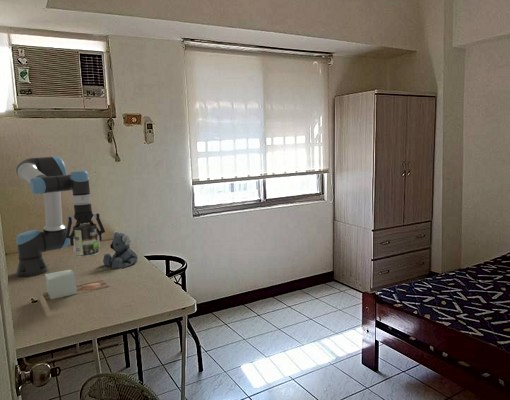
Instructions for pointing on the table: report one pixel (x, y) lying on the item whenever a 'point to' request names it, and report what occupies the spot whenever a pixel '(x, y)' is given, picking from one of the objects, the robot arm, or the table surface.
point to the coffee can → (86, 240)
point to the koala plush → (120, 252)
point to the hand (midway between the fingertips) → (87, 249)
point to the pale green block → (61, 284)
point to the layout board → (84, 288)
